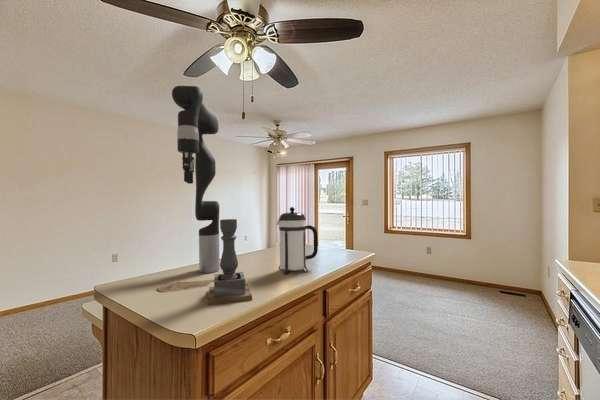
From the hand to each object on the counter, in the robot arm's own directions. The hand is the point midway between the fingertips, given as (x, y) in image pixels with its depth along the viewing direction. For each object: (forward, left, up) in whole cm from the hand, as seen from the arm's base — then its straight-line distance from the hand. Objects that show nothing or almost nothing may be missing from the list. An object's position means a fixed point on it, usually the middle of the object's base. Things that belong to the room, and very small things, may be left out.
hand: (188, 182), depth 103 cm
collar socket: (+11, +14, -40) cm, 44 cm away
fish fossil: (-6, +1, -41) cm, 41 cm away
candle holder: (+11, +14, -39) cm, 43 cm away
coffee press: (-15, +45, -40) cm, 62 cm away
